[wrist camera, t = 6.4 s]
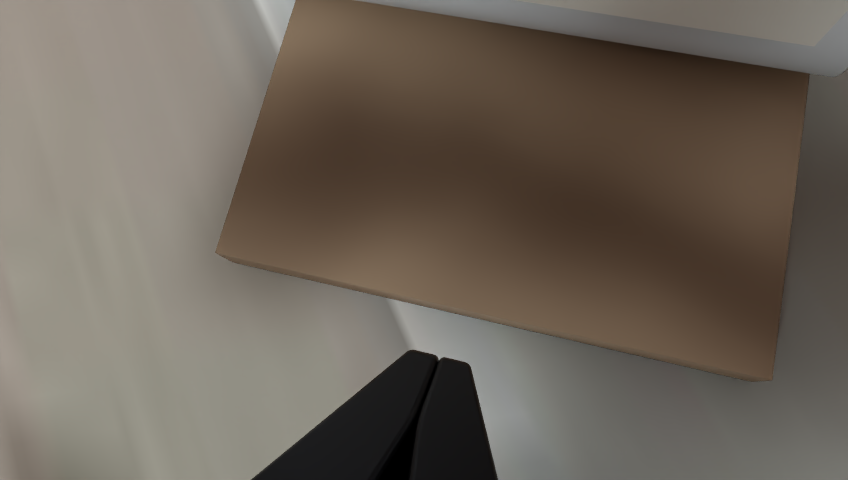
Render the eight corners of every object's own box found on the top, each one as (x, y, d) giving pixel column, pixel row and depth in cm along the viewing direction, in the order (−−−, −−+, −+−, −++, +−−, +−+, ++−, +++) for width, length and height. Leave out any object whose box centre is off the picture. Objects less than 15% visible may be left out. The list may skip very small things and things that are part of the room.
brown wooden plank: (751, 381, 16) (772, 380, 15) (232, 262, 18) (215, 252, 17) (826, -199, 20) (847, -237, 19) (390, -244, 22) (385, -280, 21)
